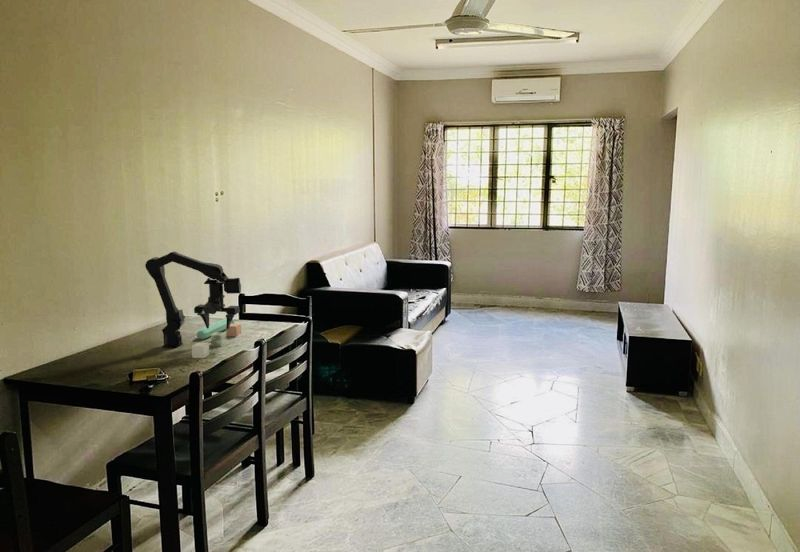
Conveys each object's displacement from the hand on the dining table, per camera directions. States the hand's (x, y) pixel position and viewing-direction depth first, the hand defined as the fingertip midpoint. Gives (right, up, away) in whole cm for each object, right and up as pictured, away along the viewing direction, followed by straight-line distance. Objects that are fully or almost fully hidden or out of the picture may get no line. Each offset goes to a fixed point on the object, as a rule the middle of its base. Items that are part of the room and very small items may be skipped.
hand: (217, 328), depth 260 cm
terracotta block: (+2, -5, +17) cm, 18 cm away
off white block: (-2, -10, -15) cm, 19 cm away
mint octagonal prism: (-7, -4, +20) cm, 22 cm away
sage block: (0, -7, +1) cm, 7 cm away
